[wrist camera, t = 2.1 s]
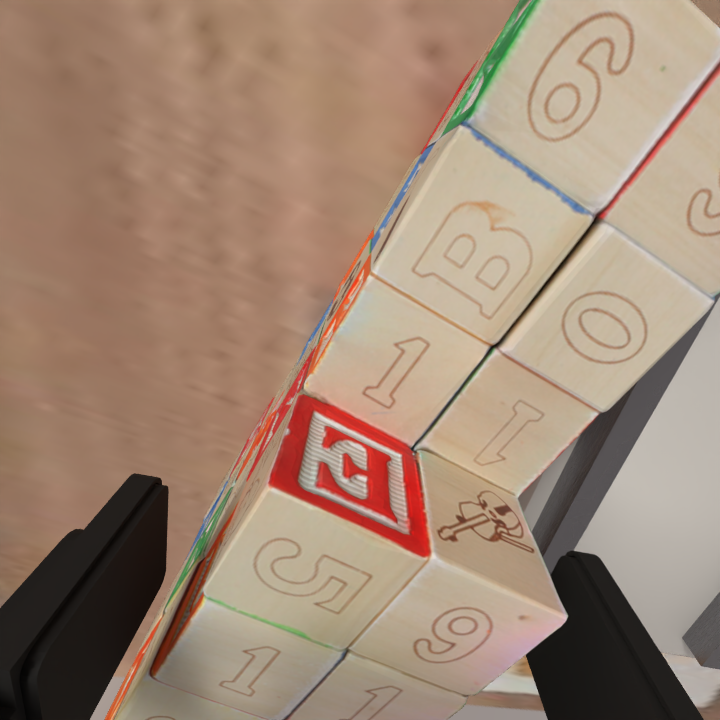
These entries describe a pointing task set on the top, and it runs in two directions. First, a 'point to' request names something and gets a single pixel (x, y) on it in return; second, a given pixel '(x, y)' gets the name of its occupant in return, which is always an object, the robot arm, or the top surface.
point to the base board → (649, 496)
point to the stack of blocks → (456, 383)
